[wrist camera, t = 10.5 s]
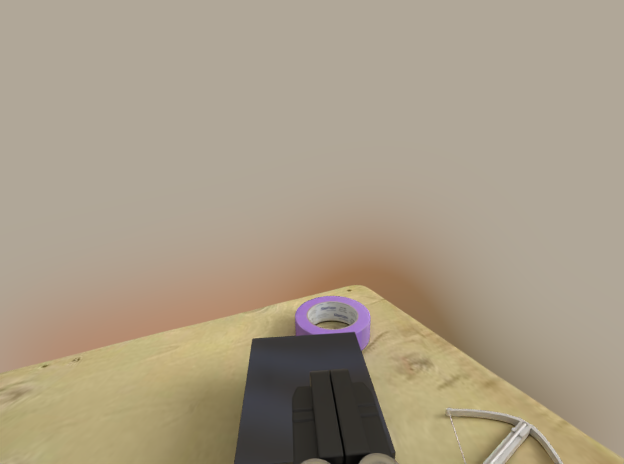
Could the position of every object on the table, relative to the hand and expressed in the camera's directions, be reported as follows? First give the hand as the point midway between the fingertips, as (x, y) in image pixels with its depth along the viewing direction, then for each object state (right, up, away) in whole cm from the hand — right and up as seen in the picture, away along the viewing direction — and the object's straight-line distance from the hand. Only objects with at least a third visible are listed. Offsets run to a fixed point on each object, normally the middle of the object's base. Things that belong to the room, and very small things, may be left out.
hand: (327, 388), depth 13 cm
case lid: (-1, -10, +21) cm, 24 cm away
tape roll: (+3, -11, +42) cm, 43 cm away
